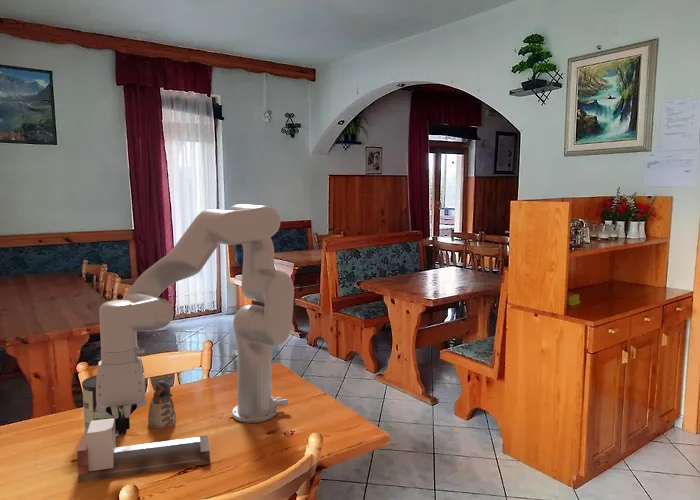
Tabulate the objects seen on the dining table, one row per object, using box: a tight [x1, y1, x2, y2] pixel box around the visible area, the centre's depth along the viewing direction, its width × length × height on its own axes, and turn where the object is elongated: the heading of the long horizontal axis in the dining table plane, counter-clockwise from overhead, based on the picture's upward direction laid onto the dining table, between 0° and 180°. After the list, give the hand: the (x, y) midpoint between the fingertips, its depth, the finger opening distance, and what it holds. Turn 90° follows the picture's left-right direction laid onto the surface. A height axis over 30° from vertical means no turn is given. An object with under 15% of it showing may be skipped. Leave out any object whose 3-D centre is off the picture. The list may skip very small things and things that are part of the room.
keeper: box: [87, 418, 117, 471], centre depth 121 cm, size 5×6×9 cm
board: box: [76, 433, 211, 483], centre depth 124 cm, size 28×9×7 cm, turn 108°
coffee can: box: [81, 374, 126, 438], centre depth 139 cm, size 10×10×14 cm
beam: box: [113, 436, 200, 465], centre depth 124 cm, size 24×2×3 cm, turn 108°
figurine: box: [147, 380, 177, 430], centre depth 145 cm, size 7×7×12 cm
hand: (122, 432), depth 122 cm, fingers closed
